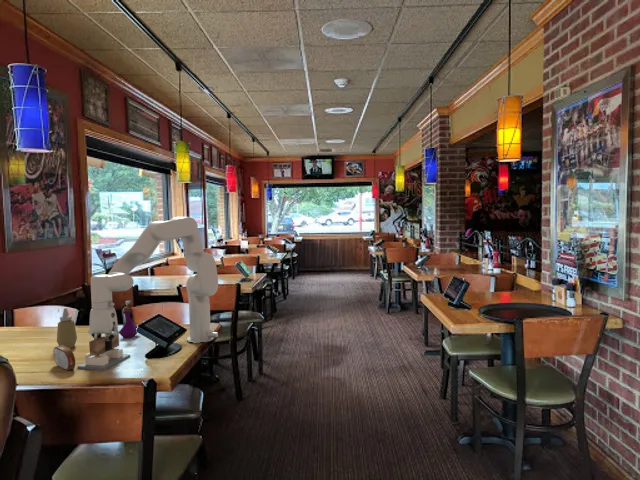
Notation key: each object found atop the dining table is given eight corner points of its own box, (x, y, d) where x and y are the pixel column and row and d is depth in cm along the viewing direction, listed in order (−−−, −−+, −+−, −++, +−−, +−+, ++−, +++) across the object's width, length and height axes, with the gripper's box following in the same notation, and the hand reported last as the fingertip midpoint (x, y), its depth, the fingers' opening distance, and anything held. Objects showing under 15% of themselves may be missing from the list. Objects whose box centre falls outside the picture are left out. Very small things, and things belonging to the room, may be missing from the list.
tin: (76, 370, 169) (75, 349, 169) (67, 373, 167) (66, 351, 166) (61, 363, 178) (60, 342, 178) (52, 365, 176) (51, 344, 176)
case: (119, 345, 184) (118, 332, 184) (97, 355, 171) (96, 342, 171) (111, 345, 185) (111, 332, 184) (89, 355, 172) (89, 341, 172)
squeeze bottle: (68, 350, 195) (66, 310, 194) (52, 349, 197) (50, 310, 196) (81, 345, 203) (79, 307, 202) (66, 344, 205) (64, 306, 204)
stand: (130, 356, 185) (129, 345, 184) (104, 370, 169) (103, 357, 169) (105, 355, 187) (104, 344, 187) (77, 368, 171) (76, 356, 171)
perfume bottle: (133, 338, 212) (132, 302, 211) (118, 339, 212) (116, 302, 211) (140, 334, 220) (138, 299, 219) (125, 334, 220) (124, 299, 219)
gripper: (126, 303, 179) (128, 347, 180) (91, 302, 182) (93, 346, 183) (114, 307, 171) (116, 353, 172) (77, 306, 175) (79, 351, 176)
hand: (104, 349), depth 178 cm, fingers closed on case, 3 cm apart
